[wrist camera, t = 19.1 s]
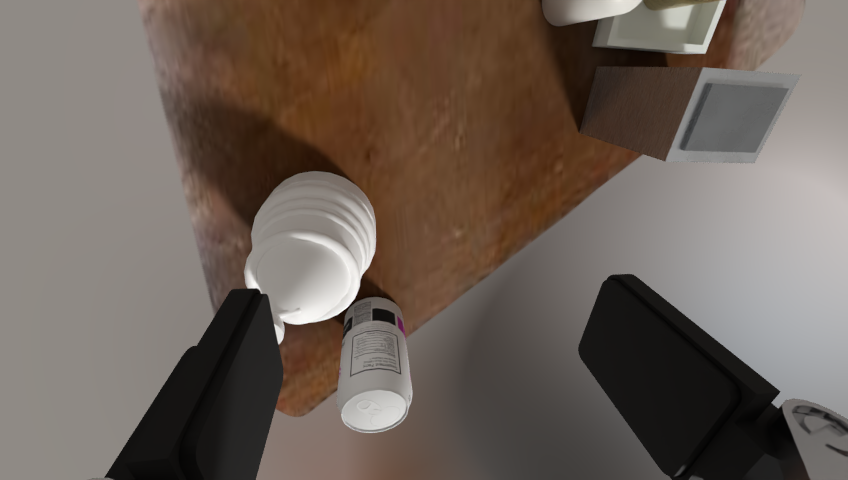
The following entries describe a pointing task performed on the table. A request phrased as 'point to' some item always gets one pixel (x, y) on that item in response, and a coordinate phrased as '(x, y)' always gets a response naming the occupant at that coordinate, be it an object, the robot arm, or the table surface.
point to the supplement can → (374, 367)
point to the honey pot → (311, 247)
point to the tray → (661, 29)
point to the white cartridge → (584, 10)
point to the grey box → (686, 111)
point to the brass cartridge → (672, 3)
